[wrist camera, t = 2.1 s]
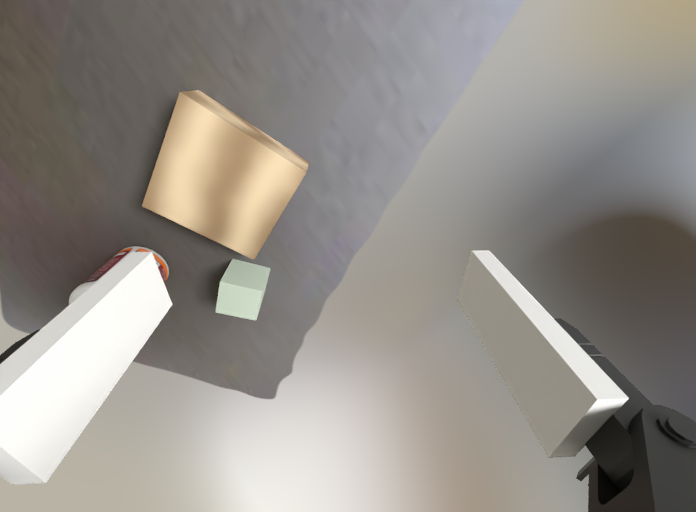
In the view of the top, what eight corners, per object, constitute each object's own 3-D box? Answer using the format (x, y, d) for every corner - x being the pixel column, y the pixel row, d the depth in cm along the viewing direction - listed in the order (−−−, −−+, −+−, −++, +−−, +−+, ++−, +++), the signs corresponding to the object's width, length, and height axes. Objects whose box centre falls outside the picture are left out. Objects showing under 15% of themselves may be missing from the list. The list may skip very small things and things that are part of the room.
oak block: (161, 192, 32) (141, 206, 28) (198, 90, 27) (179, 91, 23) (261, 242, 36) (253, 259, 32) (309, 162, 31) (306, 172, 27)
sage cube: (227, 287, 39) (215, 312, 35) (232, 258, 37) (219, 281, 33) (263, 295, 40) (256, 320, 36) (270, 267, 38) (263, 291, 34)
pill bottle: (126, 282, 38) (60, 348, 29) (112, 242, 35) (31, 302, 25) (175, 285, 39) (126, 350, 29) (165, 246, 35) (106, 306, 26)
